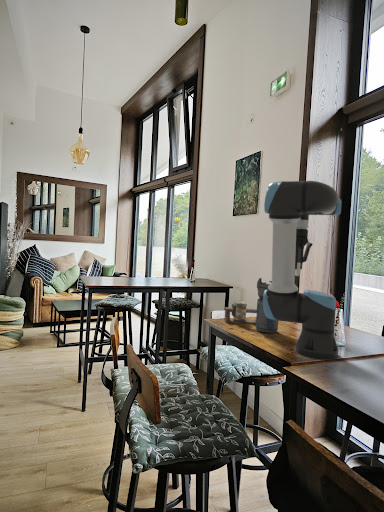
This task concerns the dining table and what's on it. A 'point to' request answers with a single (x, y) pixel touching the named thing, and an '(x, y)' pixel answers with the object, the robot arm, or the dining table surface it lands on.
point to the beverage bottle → (261, 320)
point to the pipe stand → (228, 320)
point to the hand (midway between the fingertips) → (297, 275)
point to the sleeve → (240, 310)
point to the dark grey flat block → (234, 310)
